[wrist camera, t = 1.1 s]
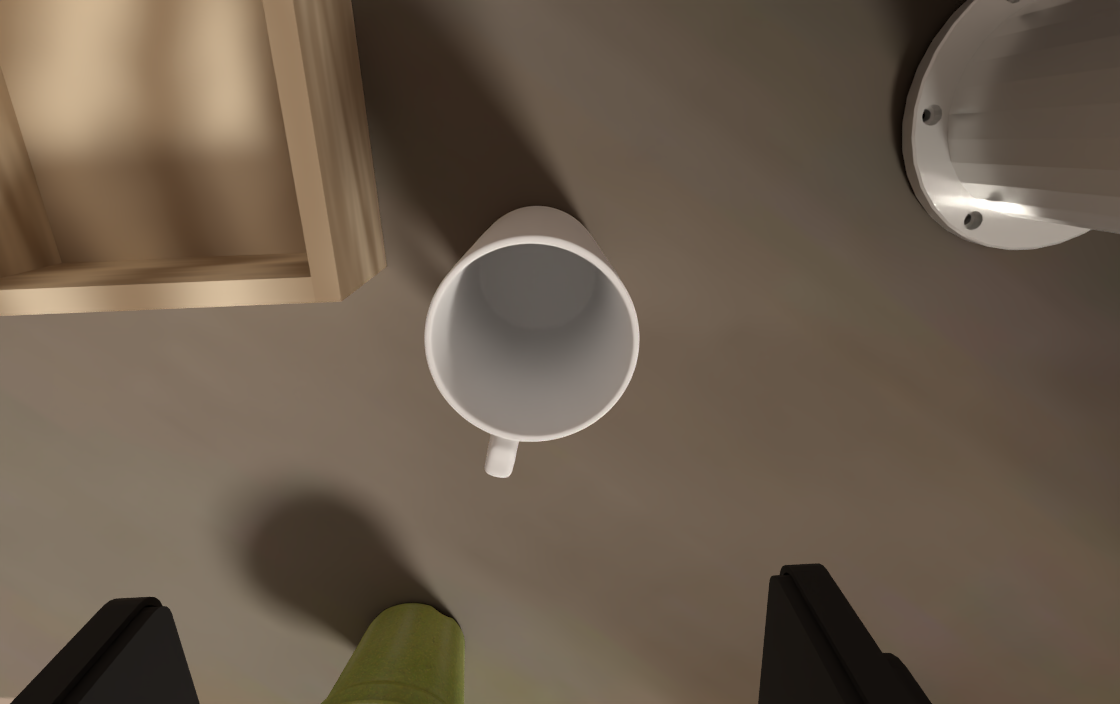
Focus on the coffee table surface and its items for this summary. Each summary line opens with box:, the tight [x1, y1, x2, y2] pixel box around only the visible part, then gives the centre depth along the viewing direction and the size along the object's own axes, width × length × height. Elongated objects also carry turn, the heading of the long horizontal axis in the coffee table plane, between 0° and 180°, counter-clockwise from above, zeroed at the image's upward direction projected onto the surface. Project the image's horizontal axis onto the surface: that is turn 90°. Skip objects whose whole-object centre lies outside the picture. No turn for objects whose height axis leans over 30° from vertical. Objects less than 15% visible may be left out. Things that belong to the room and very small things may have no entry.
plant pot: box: [321, 603, 465, 704], centre depth 34 cm, size 9×9×9 cm
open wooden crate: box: [0, 0, 387, 316], centre depth 24 cm, size 16×16×7 cm
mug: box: [424, 206, 639, 478], centre depth 25 cm, size 10×7×12 cm, turn 165°
